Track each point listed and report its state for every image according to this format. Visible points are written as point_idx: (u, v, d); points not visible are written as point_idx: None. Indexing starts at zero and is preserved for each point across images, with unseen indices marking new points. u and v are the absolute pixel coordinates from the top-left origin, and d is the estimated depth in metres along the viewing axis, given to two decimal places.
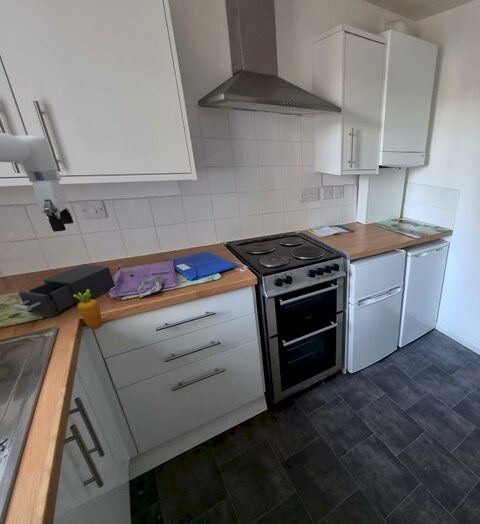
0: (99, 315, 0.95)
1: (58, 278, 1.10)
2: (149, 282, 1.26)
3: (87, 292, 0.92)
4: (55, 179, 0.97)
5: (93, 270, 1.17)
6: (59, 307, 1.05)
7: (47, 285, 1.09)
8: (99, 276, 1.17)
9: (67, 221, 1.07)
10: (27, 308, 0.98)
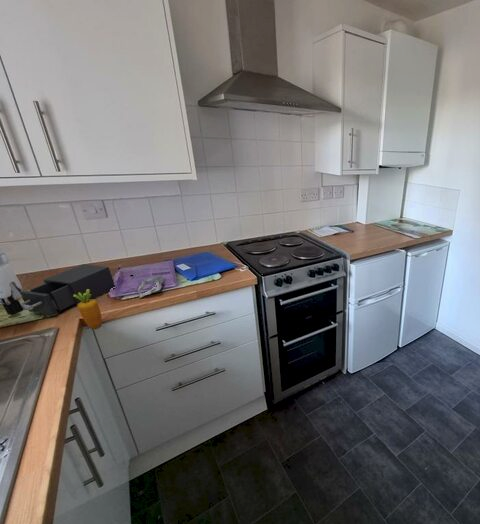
0: (99, 315, 0.95)
1: (58, 278, 1.10)
2: (149, 282, 1.26)
3: (87, 292, 0.92)
4: None
5: (93, 270, 1.17)
6: (60, 307, 1.06)
7: (48, 285, 1.09)
8: (99, 276, 1.17)
9: None
10: (28, 307, 0.98)
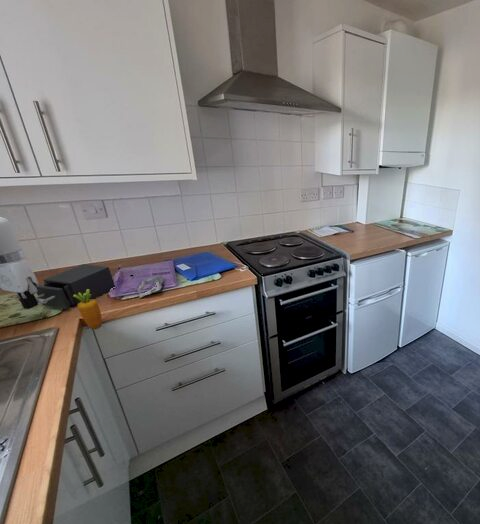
0: (99, 315, 0.95)
1: (58, 278, 1.10)
2: (149, 282, 1.26)
3: (87, 292, 0.92)
4: (24, 256, 0.97)
5: (93, 270, 1.17)
6: (72, 301, 1.09)
7: None
8: (99, 276, 1.17)
9: None
10: (43, 301, 1.02)
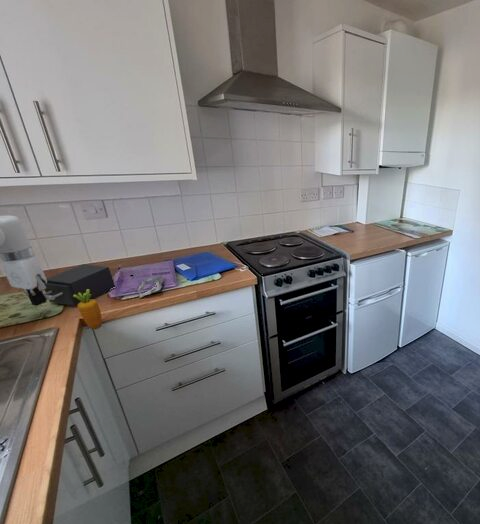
0: (99, 315, 0.95)
1: (58, 278, 1.10)
2: (149, 282, 1.26)
3: (87, 292, 0.91)
4: (34, 254, 0.99)
5: (93, 270, 1.17)
6: None
7: None
8: (99, 276, 1.17)
9: None
10: (51, 298, 1.04)
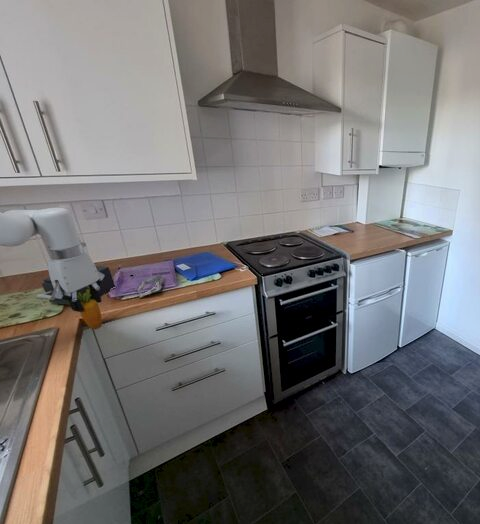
0: (99, 315, 0.94)
1: None
2: (149, 282, 1.26)
3: (87, 292, 0.91)
4: (68, 258, 0.83)
5: None
6: None
7: None
8: None
9: (95, 299, 0.95)
10: (51, 298, 1.04)
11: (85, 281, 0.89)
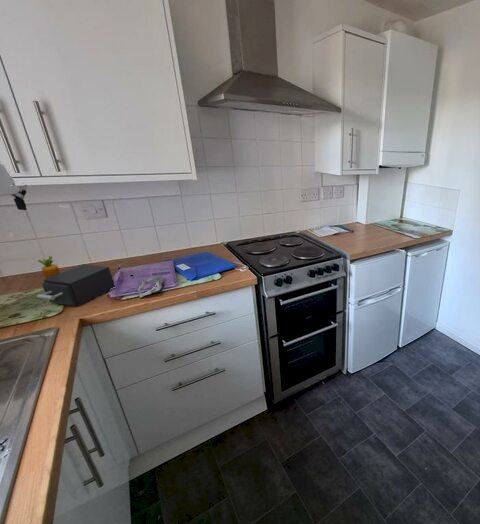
0: None
1: (58, 278, 1.10)
2: (149, 282, 1.26)
3: (49, 258, 1.16)
4: None
5: (93, 270, 1.17)
6: None
7: None
8: (99, 276, 1.17)
9: (20, 207, 1.07)
10: (51, 298, 1.04)
11: (2, 190, 1.01)
